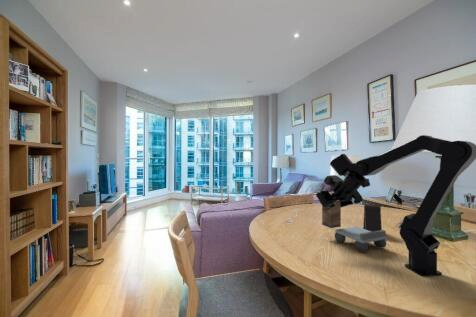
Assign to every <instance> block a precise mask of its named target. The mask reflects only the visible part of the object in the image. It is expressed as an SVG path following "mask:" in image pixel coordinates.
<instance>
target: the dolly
mask: <svg viewBox="0 0 476 317" xmlns="http://www.w3.org/2000/svg"><path fill="white" fill-rule="evenodd" d="M386 231H387V230H383V229H382V230H379V231H373V232H371V231H368V230H365V229H363V227H359V226H350V227H344V228H338V229H337V228H336V229H335V231H334V232H335V233H334V239H335V241H336V242H337V243H344V242H345V241H346V238H348V239H349V238H350V240H354V241H355V243H354V245H355V248H356V250H357V251H358V252H360V253H364V252H367V251H368V249H369V245H368V243H372V242H373V244H374V246H375V247H376V248H377V249H383V248H386V246H387V240H386V239H387V238H386Z"/></svg>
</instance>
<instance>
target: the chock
mask: <svg viewBox="0 0 476 317" xmlns="http://www.w3.org/2000/svg"><path fill="white" fill-rule="evenodd" d="M334 205H335V207H332V208H330V209H327V210H325V211H324V210H323V206H322V205H321V225H322V226H325V227H327V228H330V229H335V228H340V227H341V224H342V222H341V221H342V219H341V217H342V216H341V211H342V209H341V208H342V207H341V202H340V201H336V202H335V203H334Z"/></svg>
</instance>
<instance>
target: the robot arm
mask: <svg viewBox="0 0 476 317" xmlns="http://www.w3.org/2000/svg"><path fill="white" fill-rule="evenodd" d="M424 151H427V152H431V153H434V154H437V155H440V157H441V158H440V161H439V162H440V163H439V169H438V173H437V174H436V176H435V178H434V179H433V181H432V183H431V185H430V186H429V189H428V191H427V192H426V194H425V196H424V198H423V200H422V201H421V203H420V205H419V207H418V209H417V211H415V213H410V214H406V215H404V218H403V220H402V223H401V224H400V225H399V226H398V228H399V236H400V237H401V239H402V240H403V241H404V244H405V246H406V249H407V251H408V263H405V264H404V267H406V269H409V270H410V271H413V272H414V273H416V274H417V275H419V276H422V277H425V276H441V275H443V273H442V271H440V270H438V253H437V252H436V251H435V250H437V249H438V248H439V247H440V245H441V242H440V241H439V240H438V239H437V238H436V237H435V236H434V235H433V234H432V230H433V228H434V220H435V217H436V215H437V213H439V212H438V211H439V210H440V209H441V207H442V205H443V203H444V201H445V200H446V198H447V197H448V195H449V193H450V192H451V191H452V190H451V189H452V188H453V186H454V185H455V183H456V182H457V179H458V177H459V176H460V175H461V174H462V173H463V172H464V171H466V170H467V168H469V167H470V166H471V164H473V163H474V161H475V160H476V143H474V142H471V141H466V140H455V141H451V140H446V139H442V138H438V137H437V138H436V137H433V136H432V135H425V134H424V135H419V136H417V137H416V138H414V139H411V140H409V141H407V142H405V143H402V144H401V145H399V146H396V147H393V148H392V149H390V150H387V151H386V152H383V153H381V154H378V155H374V156H370V157H366V158H362V159H359V160H358V161H356V162H353V161H352V160H351V159H350V158H349V157H348V156H347V155H346V153H341V154H340V155H338V156H336V157H335V158H334V159H331V161H330V164H329V166H331V168H332V169H333V170H334V172H336V174H338V175H327V176H326V177H324V181H323V182H324V183H325V185H327V186H330V187H331V189H330V190H331V194H330V192H329V190H327V189H324V190H318V191H317V192H316V194H315V196H316V198H317V199H318V201H319V202H320V205H321V207H322V206H323V210H324V211H325V210H327V209H330V208H332V207H335V205H334V203H335V202H336V201H340V202H341V208H344V207H348V206H351V205H353V204H355V205H357V204H360V203H362V201H363V196H362V195H361V194H360V192H359V191H358V189H359V188H360V187H362V188H363V189H364V188H366V187H370V186H371V182H370V179H369V178H366V177H367V176H369V177H370V176H375V175H377V174H378V173H380V172H383V170H385V169H386V168H387V167H389V166H390V165H392V164H394V163H397V162H399V161H402V160H405V159H406V158H410V157H412V156H414V155H416V154H419V153H422V152H424ZM342 176H343V177H345V178H344V179H342V178H341V177H342Z"/></svg>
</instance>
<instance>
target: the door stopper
mask: <svg viewBox="0 0 476 317" xmlns="http://www.w3.org/2000/svg"><path fill="white" fill-rule="evenodd" d="M381 210H382V208H381V205H377V204H376V205H375V204H364V205H363V225H362V229H365V230H368V231H371V232H373V231H379V230H383V229H382V213H381V212H382V211H381Z"/></svg>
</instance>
